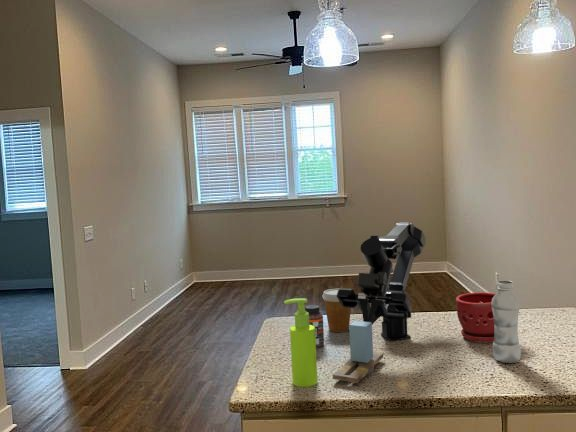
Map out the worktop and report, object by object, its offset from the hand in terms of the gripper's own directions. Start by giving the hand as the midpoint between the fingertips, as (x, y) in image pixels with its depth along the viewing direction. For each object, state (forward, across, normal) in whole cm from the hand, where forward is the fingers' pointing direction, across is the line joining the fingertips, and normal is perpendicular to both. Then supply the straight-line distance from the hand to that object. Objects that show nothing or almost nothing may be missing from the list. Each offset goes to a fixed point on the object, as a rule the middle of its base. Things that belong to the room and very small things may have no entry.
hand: (365, 328), depth 132 cm
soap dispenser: (+18, -10, -5) cm, 21 cm away
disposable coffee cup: (-11, -19, +24) cm, 32 cm away
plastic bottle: (-3, +31, +17) cm, 36 cm away
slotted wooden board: (+10, 0, +3) cm, 11 cm away
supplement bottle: (+1, -19, +12) cm, 23 cm away
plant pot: (-15, +23, +28) cm, 39 cm away
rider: (+8, 0, +3) cm, 9 cm away
